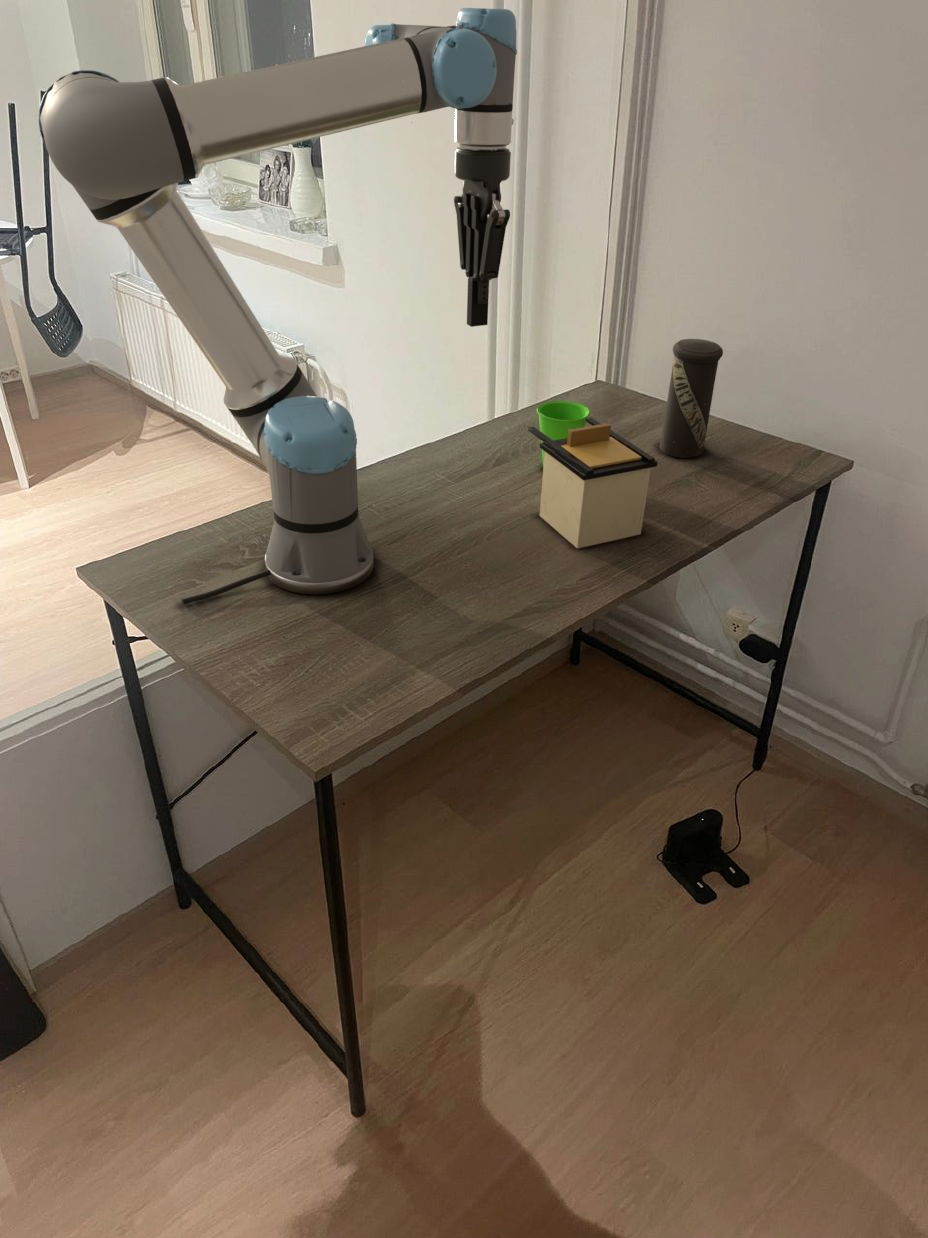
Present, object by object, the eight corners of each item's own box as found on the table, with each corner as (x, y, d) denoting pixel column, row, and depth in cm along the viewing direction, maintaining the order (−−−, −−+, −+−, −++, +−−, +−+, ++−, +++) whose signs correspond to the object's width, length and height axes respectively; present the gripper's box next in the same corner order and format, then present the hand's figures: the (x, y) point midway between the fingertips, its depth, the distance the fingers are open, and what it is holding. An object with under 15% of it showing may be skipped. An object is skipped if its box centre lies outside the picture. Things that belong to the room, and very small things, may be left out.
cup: (585, 481, 157) (592, 420, 151) (533, 479, 157) (537, 419, 151) (581, 459, 164) (587, 401, 158) (531, 458, 164) (535, 399, 158)
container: (654, 455, 167) (671, 346, 156) (660, 437, 174) (676, 332, 163) (702, 462, 165) (722, 352, 154) (706, 443, 172) (726, 337, 161)
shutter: (589, 468, 131) (591, 450, 130) (560, 447, 137) (562, 430, 136) (641, 459, 135) (644, 441, 133) (610, 439, 141) (613, 421, 139)
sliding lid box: (575, 551, 136) (584, 471, 129) (520, 502, 149) (525, 427, 142) (646, 535, 141) (658, 457, 134) (586, 489, 154) (594, 416, 147)
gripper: (531, 151, 118) (520, 333, 131) (486, 139, 128) (480, 310, 141) (479, 153, 115) (473, 339, 129) (437, 141, 125) (436, 315, 138)
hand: (477, 324), depth 135 cm, fingers closed
